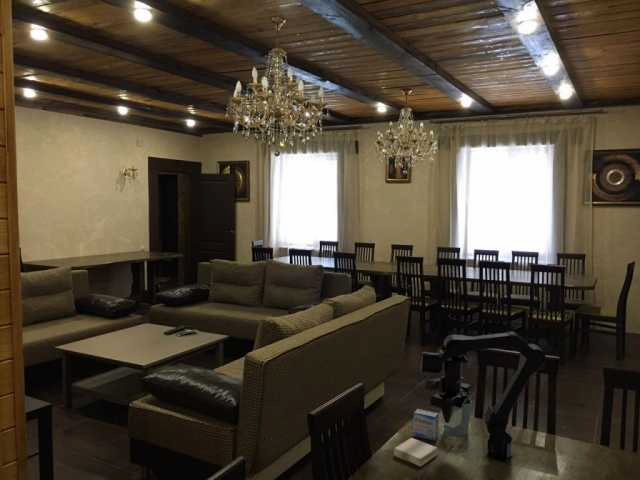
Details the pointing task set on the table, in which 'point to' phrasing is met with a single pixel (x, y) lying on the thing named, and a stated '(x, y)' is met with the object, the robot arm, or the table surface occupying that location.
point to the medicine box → (425, 424)
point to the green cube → (453, 417)
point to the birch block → (415, 451)
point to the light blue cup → (464, 426)
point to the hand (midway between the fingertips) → (450, 419)
